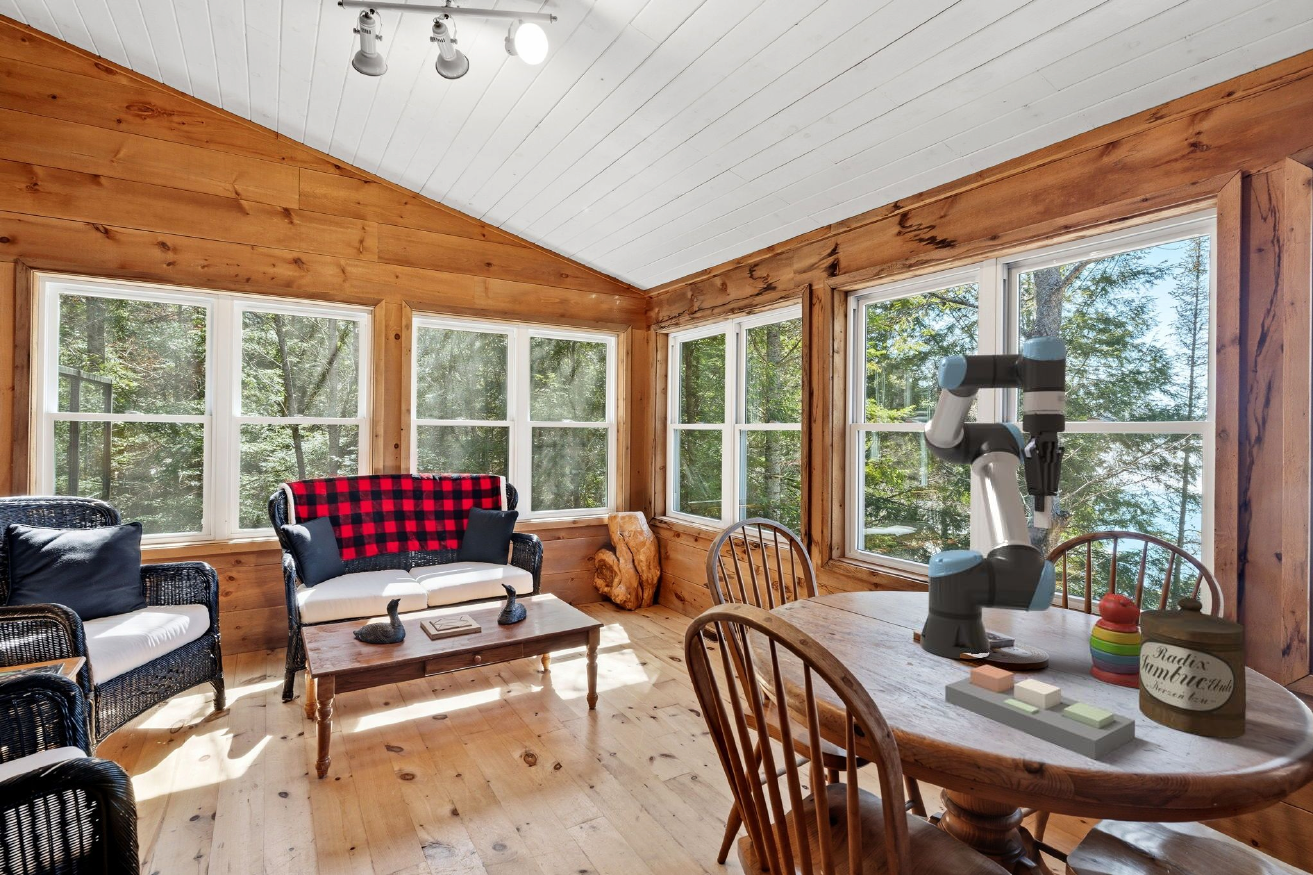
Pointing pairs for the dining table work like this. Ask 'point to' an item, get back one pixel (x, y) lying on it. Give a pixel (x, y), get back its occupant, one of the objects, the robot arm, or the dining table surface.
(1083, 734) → the console
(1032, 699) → the off-white key
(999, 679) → the terracotta key
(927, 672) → the dining table surface
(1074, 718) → the sage green key
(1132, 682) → the stacking bear
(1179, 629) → the wooden container
